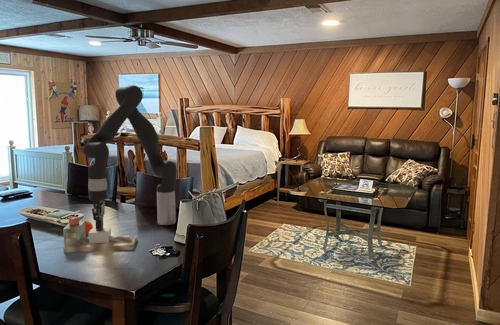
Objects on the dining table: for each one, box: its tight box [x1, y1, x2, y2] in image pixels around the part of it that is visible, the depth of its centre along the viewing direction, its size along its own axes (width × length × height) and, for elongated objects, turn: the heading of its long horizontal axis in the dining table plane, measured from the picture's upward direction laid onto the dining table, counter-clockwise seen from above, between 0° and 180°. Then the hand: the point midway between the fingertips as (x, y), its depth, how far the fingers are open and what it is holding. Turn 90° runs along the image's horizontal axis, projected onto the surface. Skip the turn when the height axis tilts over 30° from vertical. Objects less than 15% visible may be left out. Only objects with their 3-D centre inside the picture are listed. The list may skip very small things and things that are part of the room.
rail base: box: [62, 220, 138, 253], centre depth 167 cm, size 28×12×10 cm, turn 99°
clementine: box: [84, 220, 94, 237], centre depth 181 cm, size 8×7×7 cm
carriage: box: [87, 216, 112, 243], centre depth 167 cm, size 8×6×11 cm
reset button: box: [68, 216, 80, 226], centre depth 164 cm, size 4×4×3 cm
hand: (99, 226), depth 167 cm, fingers closed on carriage, 3 cm apart
